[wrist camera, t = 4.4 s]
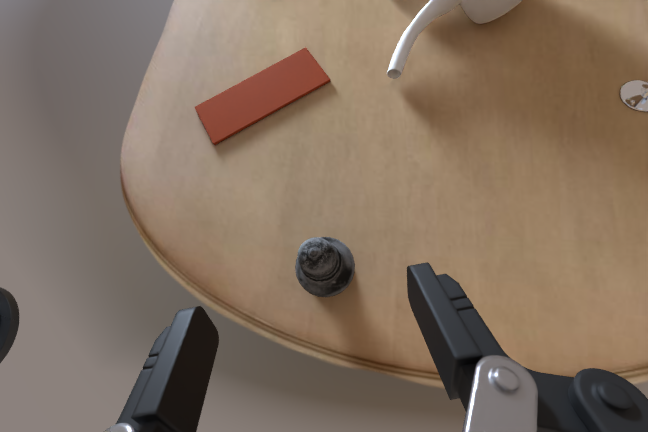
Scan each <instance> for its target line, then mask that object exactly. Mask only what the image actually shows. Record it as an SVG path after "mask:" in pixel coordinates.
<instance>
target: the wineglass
mask: <svg viewBox="0 0 648 432" xmlns="http://www.w3.org/2000/svg"><path fill="white" fill-rule="evenodd" d="M620 97H621V99H622V101H623V102H624V103H625V104H626V105H627V106H629V107H630V108H632V109H634V110H637V111H643V112H648V82H647V81H643V80H633V81H629V82H627V83H625V84H624V85H623V86H622V87H621V89H620Z"/></svg>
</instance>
